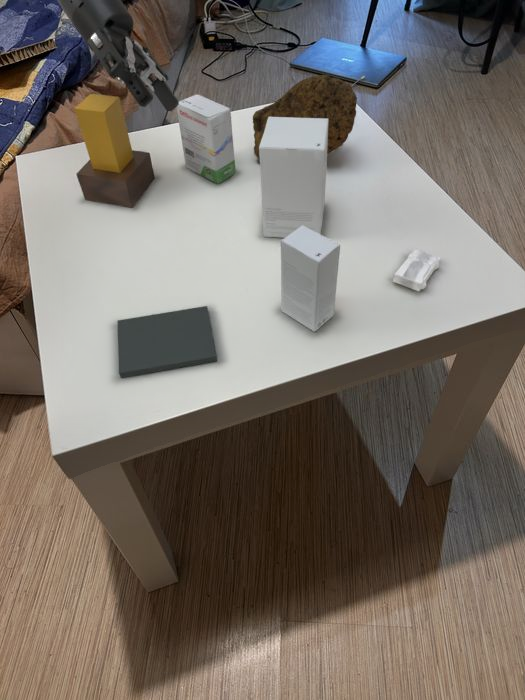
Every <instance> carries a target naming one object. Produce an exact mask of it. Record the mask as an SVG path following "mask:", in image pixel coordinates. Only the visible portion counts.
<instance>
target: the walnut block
mask: <svg viewBox="0 0 525 700" xmlns="http://www.w3.org/2000/svg"><path fill="white" fill-rule="evenodd" d="M132 152H133V156H134V157H133V158H132V160H131V161H130V162H129V163H128V164H127V165H126V167H125V168H124V169H123V170H122V171H121V172H120V173H118V172H111V171H104V170H98V169H93V167H92V164H91V161H90V159H89V160H88V161H87V162H86V163H85V164H84V165H83V166H82V167H81V168H80V169H79V170H78V171H77V172H76V178H77V181H78V184H79V187H80V189H81V192H82V196H83V198H84V200H85V201H89V202H95V203H101V204H106V205H113V206H118V207H125V208H130V209H133V208H134V207H135V206H136V204H137V203H138V202H139V200H140V199H141V198H142V197H143V195H144V194H145V193H146V192H147V190H148V189H149V187H150V186H151V185H152V183H154V181H155V180H156V176H155V170H154V166H153V162H152V161H153V160H152V157H151V153H150V152H146V151H141V150H133V149H132Z"/></svg>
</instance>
